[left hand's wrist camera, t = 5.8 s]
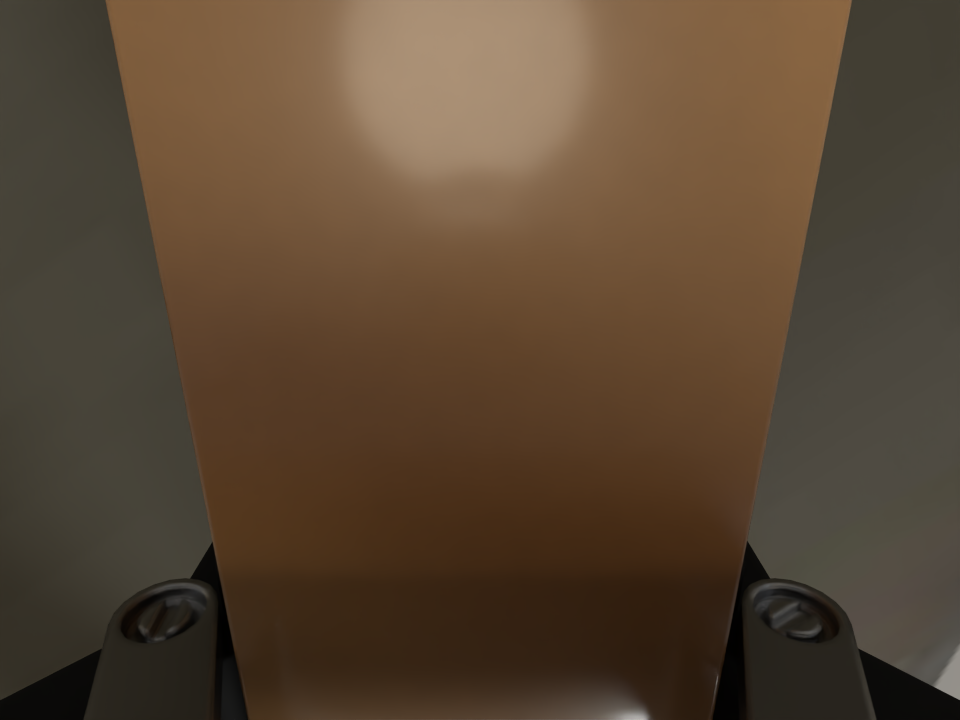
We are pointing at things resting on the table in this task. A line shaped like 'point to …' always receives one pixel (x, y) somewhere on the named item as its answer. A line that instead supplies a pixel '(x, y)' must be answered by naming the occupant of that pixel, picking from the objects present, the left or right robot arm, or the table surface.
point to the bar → (479, 332)
